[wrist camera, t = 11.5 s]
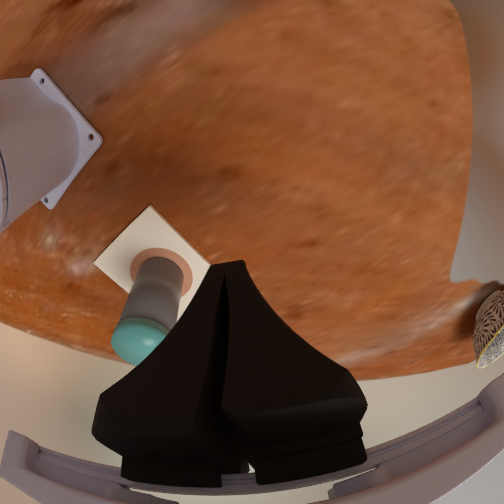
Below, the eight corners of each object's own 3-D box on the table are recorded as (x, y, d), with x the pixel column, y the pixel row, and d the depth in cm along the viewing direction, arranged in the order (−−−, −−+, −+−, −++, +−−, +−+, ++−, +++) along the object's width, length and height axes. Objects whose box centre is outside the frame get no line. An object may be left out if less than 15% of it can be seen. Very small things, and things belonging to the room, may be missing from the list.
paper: (94, 260, 22) (93, 263, 21) (150, 204, 19) (149, 206, 19) (172, 324, 26) (171, 327, 26) (233, 285, 24) (233, 288, 24)
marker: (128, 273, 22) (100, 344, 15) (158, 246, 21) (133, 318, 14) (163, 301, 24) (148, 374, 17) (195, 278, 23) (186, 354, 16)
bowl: (523, 252, 27) (550, 278, 21) (504, 312, 35) (522, 337, 29) (464, 295, 29) (492, 330, 23) (449, 351, 38) (467, 381, 31)
